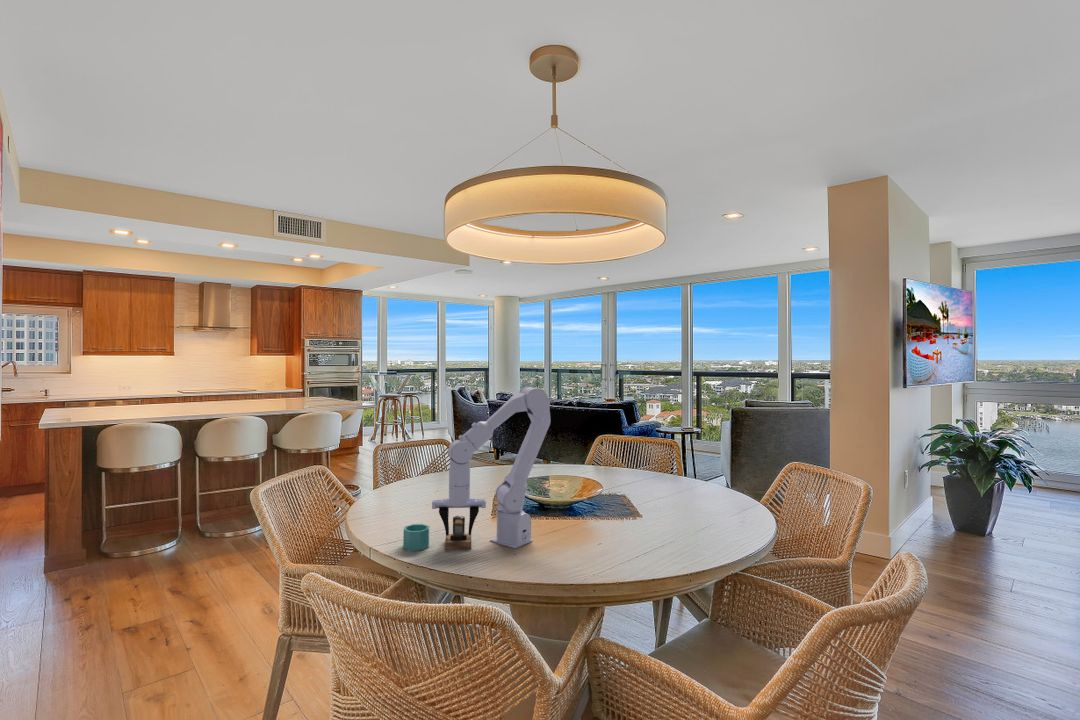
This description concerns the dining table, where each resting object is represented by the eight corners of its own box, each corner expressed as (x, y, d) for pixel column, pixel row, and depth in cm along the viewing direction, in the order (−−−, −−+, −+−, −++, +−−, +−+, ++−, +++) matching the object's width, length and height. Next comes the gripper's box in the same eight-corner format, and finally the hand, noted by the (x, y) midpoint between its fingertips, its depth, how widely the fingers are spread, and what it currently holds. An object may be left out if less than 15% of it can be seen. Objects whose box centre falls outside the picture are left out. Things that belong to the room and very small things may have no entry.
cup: (433, 545, 146) (434, 527, 146) (414, 552, 141) (414, 533, 141) (418, 540, 150) (418, 522, 150) (398, 546, 145) (399, 528, 145)
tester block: (471, 540, 151) (471, 532, 151) (471, 549, 144) (471, 541, 144) (446, 541, 150) (446, 533, 150) (444, 549, 143) (445, 541, 143)
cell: (466, 544, 147) (467, 515, 147) (458, 548, 145) (458, 518, 145) (458, 542, 149) (459, 513, 149) (450, 545, 147) (450, 516, 147)
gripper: (485, 481, 152) (484, 528, 152) (433, 481, 150) (432, 530, 150) (486, 486, 145) (485, 537, 145) (431, 487, 143) (430, 538, 143)
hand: (458, 534), depth 147 cm, fingers open, 5 cm apart
